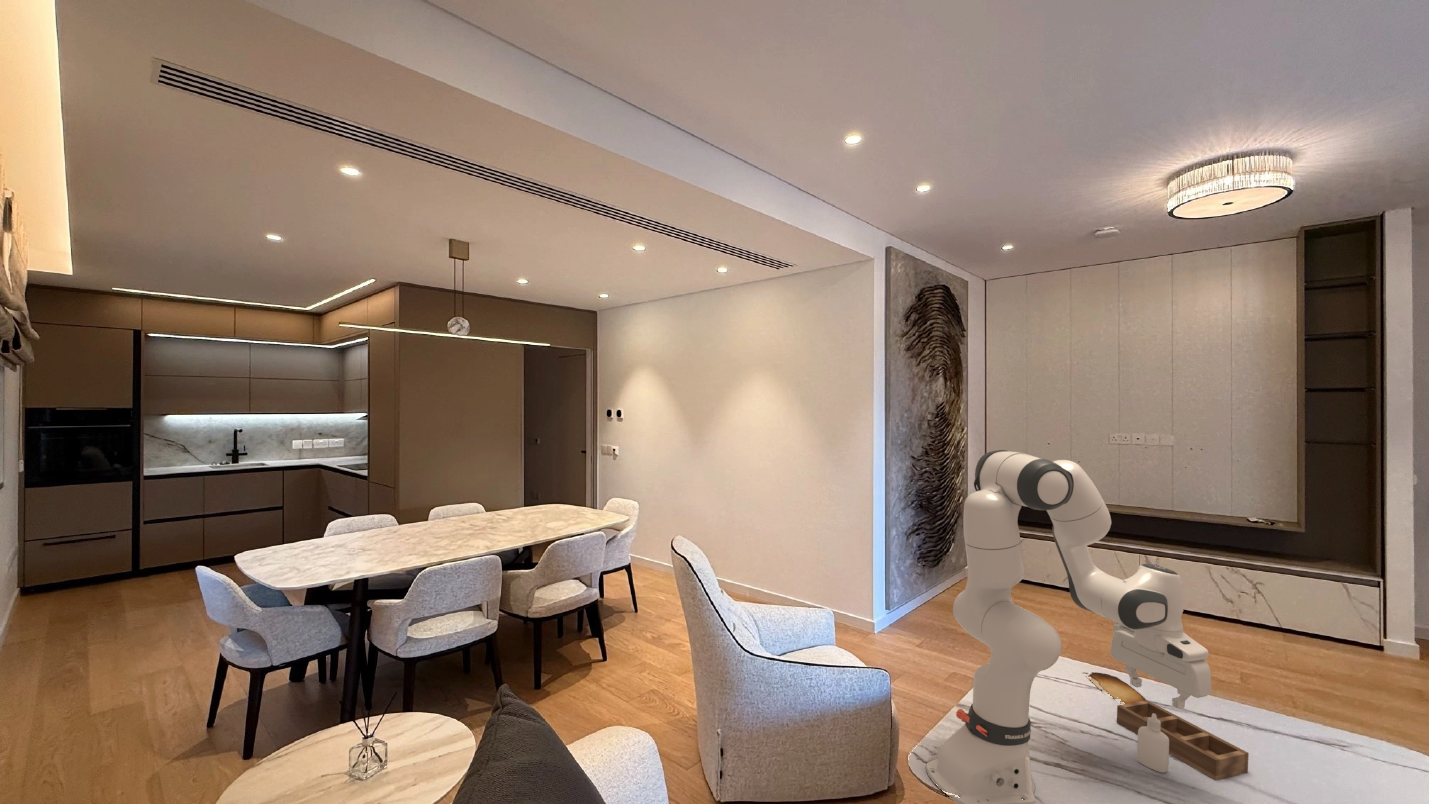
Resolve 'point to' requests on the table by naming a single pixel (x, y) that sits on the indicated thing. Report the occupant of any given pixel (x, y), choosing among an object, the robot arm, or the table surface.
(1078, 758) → the table surface
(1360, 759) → the table surface
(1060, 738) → the table surface
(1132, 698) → the parchment
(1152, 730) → the eye dropper bottle
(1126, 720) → the slot rack
